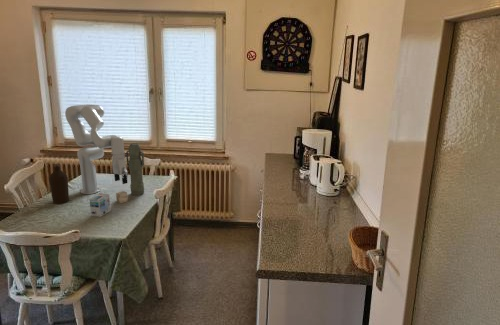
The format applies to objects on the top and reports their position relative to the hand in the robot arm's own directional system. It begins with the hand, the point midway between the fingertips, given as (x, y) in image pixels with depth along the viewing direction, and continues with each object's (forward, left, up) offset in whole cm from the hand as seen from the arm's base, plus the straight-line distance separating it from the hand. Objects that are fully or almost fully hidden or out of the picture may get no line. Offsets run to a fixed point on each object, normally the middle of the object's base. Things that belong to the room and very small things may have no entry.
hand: (121, 182), depth 238 cm
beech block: (-1, 0, -13) cm, 13 cm away
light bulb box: (+9, -19, -13) cm, 25 cm away
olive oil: (-28, -28, -13) cm, 42 cm away
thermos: (-7, +15, -13) cm, 21 cm away
